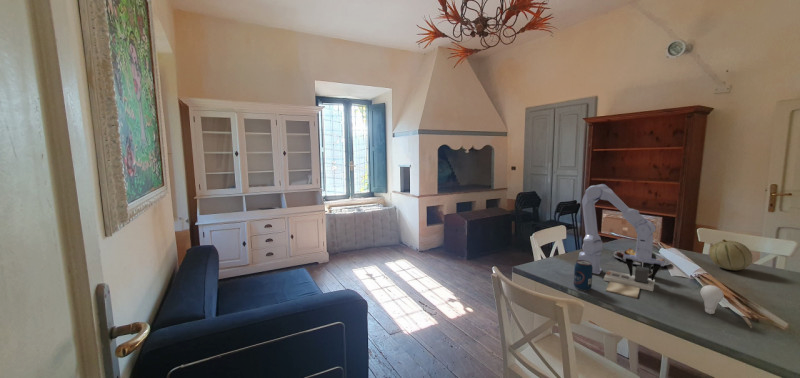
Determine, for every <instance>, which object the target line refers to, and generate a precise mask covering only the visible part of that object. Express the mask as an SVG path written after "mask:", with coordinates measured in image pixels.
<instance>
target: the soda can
mask: <svg viewBox="0 0 800 378" xmlns="http://www.w3.org/2000/svg"><path fill="white" fill-rule="evenodd" d="M592 270H593V267H592V265H591V262H589V261H585V260H579V259H578V260H576V261H575V264H574V272H573V285H574V287H575V289H577V290H579V291H585V292H586V291H587V292H588V291H590V290H591V288H592V285H593V284H592V283H593V273H592Z"/></svg>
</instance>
